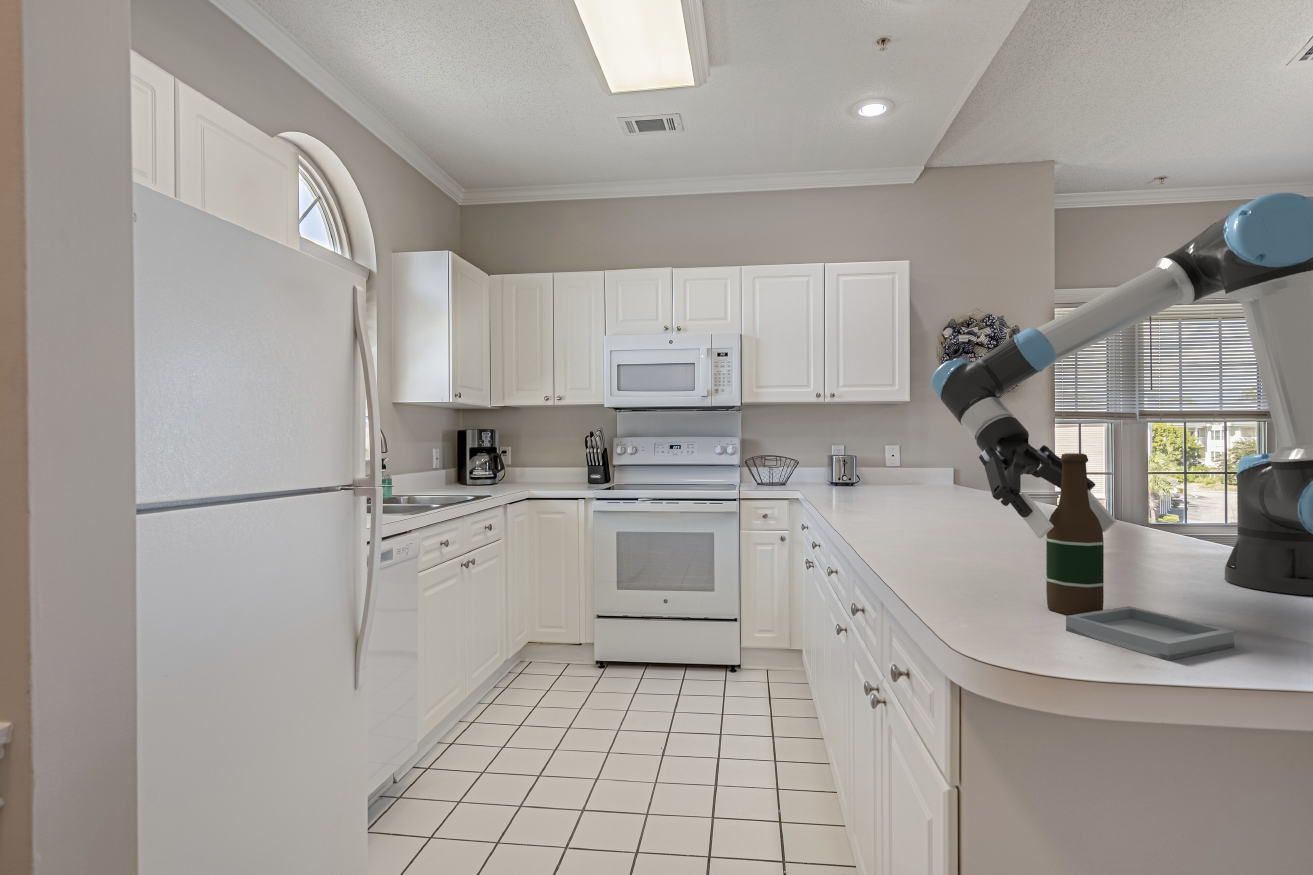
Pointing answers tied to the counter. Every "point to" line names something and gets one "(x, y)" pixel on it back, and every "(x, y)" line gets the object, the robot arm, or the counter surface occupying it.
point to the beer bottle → (1074, 546)
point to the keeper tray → (1150, 632)
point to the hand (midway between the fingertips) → (1078, 529)
